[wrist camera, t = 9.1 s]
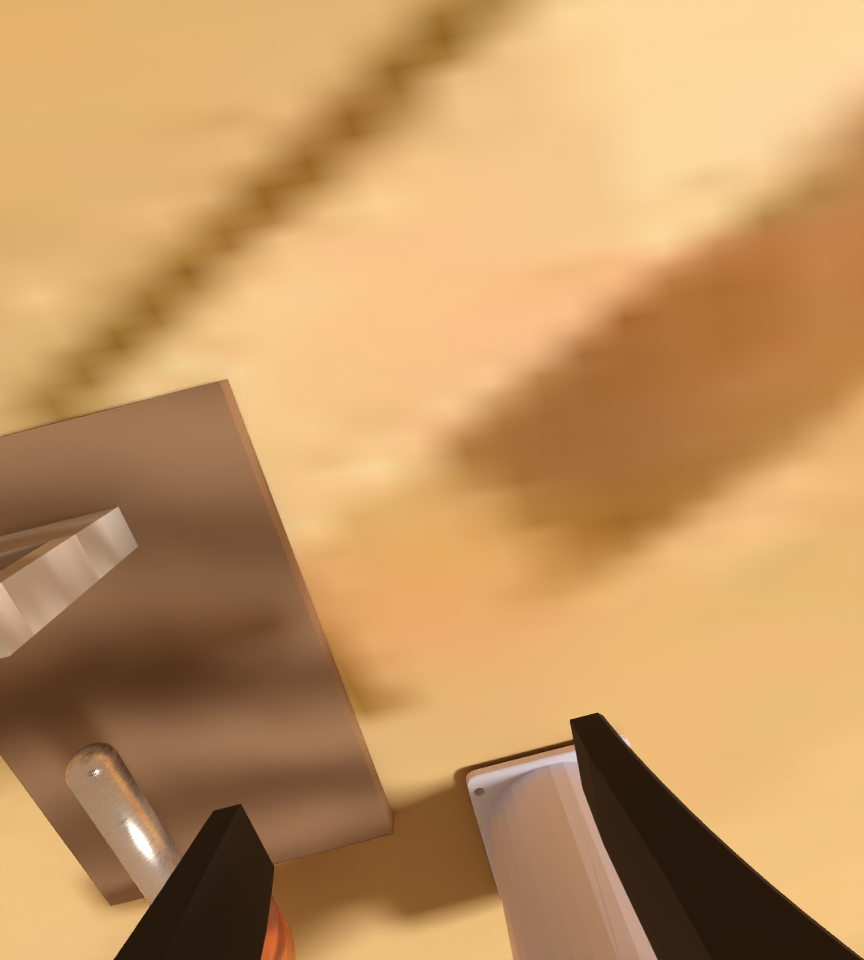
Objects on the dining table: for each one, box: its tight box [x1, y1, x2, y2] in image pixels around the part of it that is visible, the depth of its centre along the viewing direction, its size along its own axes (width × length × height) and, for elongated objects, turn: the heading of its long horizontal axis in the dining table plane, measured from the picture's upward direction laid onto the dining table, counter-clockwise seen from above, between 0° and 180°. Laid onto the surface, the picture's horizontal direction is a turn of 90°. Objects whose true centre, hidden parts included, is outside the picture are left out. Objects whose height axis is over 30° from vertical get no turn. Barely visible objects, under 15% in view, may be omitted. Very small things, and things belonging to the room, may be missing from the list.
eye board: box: [0, 379, 394, 906], centre depth 16 cm, size 22×14×7 cm, turn 14°
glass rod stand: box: [65, 742, 295, 960], centre depth 17 cm, size 13×5×5 cm, turn 14°
